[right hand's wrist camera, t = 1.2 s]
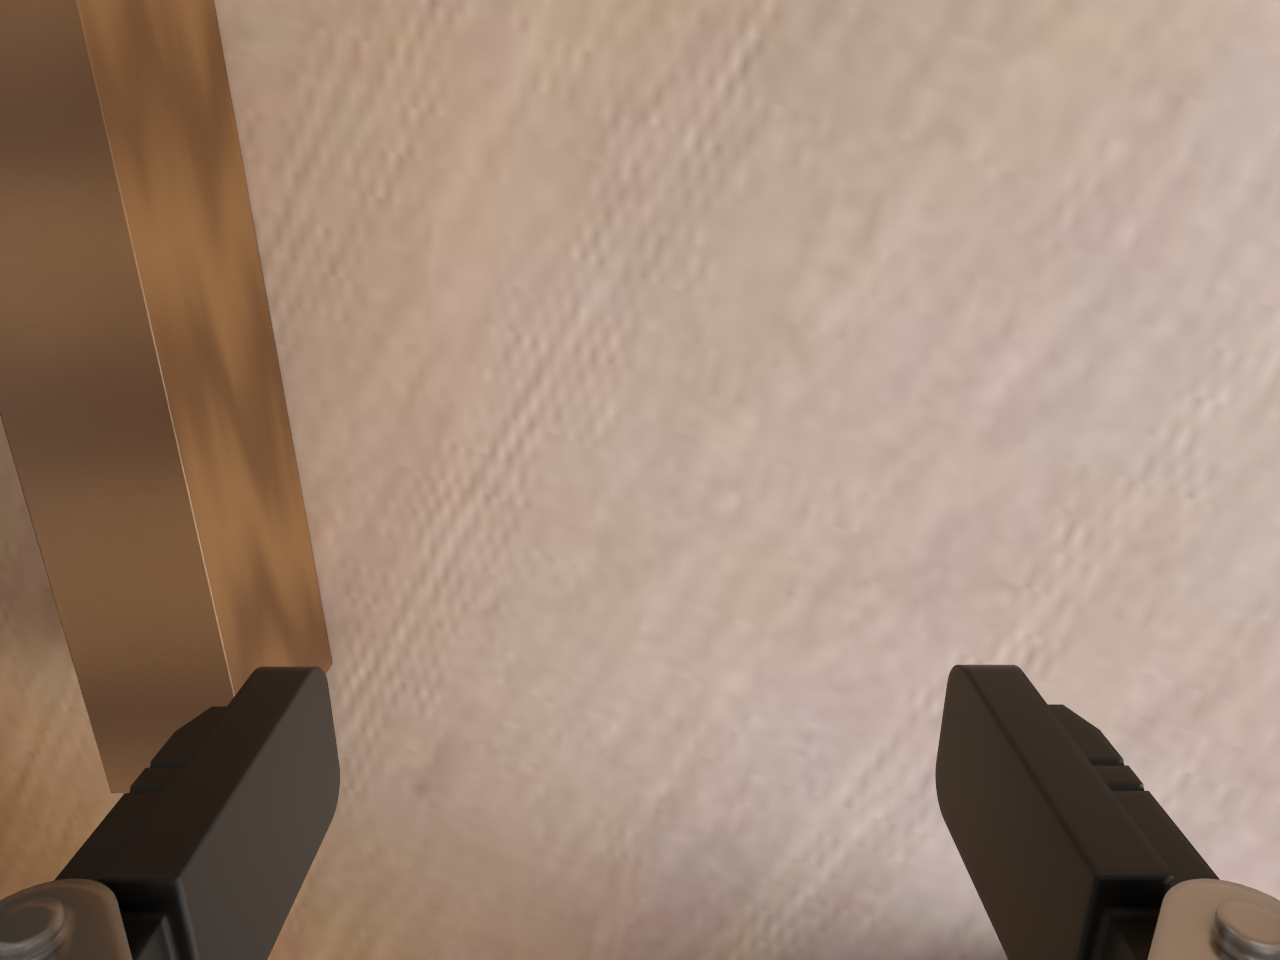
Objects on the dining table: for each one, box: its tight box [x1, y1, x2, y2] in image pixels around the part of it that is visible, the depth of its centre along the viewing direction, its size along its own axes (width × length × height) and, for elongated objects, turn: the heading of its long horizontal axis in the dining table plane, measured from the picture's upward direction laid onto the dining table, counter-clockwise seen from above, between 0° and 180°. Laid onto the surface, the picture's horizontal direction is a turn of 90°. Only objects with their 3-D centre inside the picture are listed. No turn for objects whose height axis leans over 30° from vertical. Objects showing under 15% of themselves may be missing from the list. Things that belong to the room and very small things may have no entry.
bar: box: [0, 0, 332, 793], centre depth 29 cm, size 26×5×8 cm, turn 2°
